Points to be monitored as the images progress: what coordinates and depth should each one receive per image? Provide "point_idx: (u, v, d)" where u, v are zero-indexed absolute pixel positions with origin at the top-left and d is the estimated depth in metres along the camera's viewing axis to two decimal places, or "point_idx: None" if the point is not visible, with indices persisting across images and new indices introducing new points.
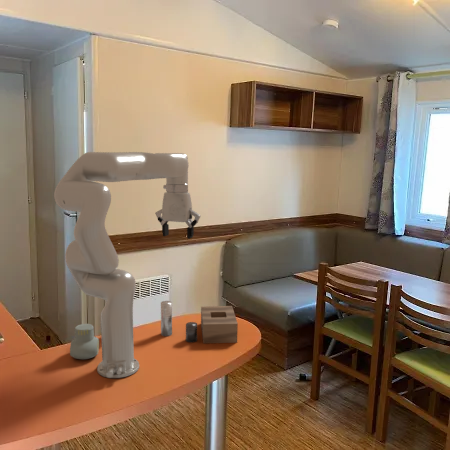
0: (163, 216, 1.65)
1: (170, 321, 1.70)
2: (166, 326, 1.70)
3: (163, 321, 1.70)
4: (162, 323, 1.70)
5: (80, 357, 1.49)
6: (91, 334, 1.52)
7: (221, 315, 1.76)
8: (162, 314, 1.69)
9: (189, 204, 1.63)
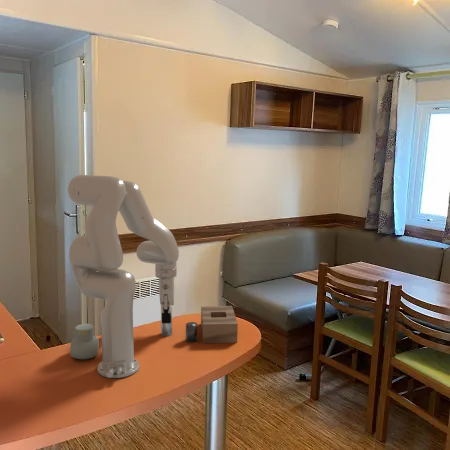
0: (173, 301, 1.66)
1: None
2: (166, 326, 1.70)
3: None
4: (162, 323, 1.70)
5: (80, 357, 1.49)
6: (91, 334, 1.52)
7: (221, 315, 1.76)
8: None
9: None
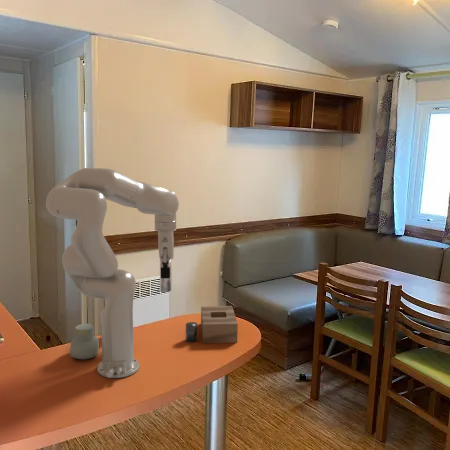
0: (173, 255, 1.63)
1: None
2: (165, 282, 1.67)
3: None
4: (161, 278, 1.67)
5: (80, 357, 1.49)
6: (91, 334, 1.52)
7: (221, 315, 1.76)
8: None
9: None
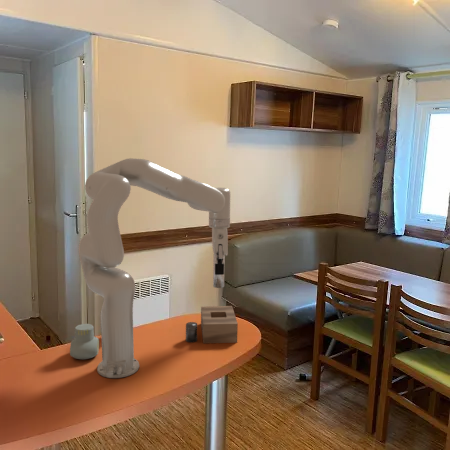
0: (227, 251, 1.65)
1: None
2: (219, 278, 1.68)
3: None
4: (215, 275, 1.69)
5: (80, 357, 1.49)
6: (91, 334, 1.52)
7: (221, 315, 1.76)
8: None
9: None
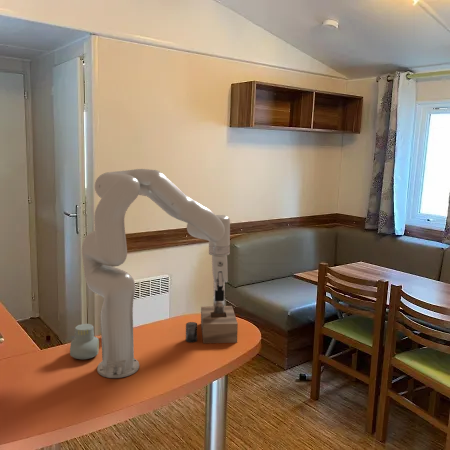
0: (227, 278, 1.67)
1: None
2: (219, 304, 1.70)
3: None
4: (215, 301, 1.71)
5: (80, 357, 1.49)
6: (91, 334, 1.52)
7: (221, 315, 1.76)
8: None
9: None
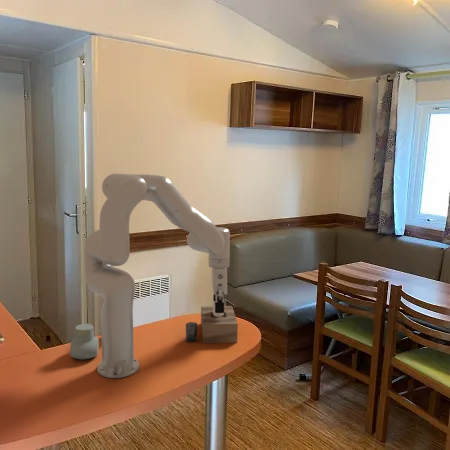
0: None
1: None
2: None
3: None
4: None
5: (80, 357, 1.49)
6: (91, 334, 1.52)
7: None
8: (215, 313, 1.71)
9: None
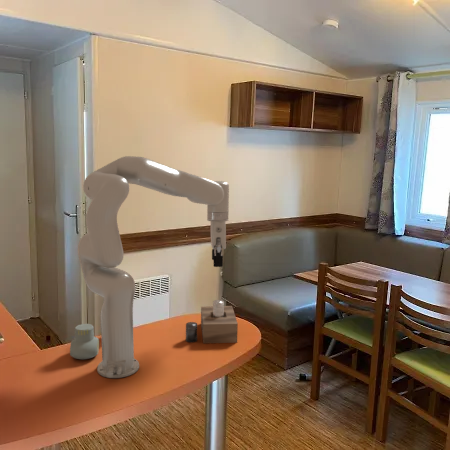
0: (225, 245, 1.65)
1: None
2: None
3: None
4: None
5: (80, 357, 1.49)
6: (91, 334, 1.52)
7: None
8: (215, 313, 1.71)
9: None
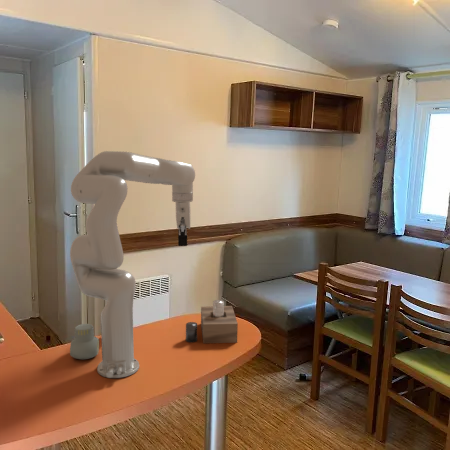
0: None
1: None
2: None
3: None
4: None
5: (80, 357, 1.49)
6: (91, 334, 1.52)
7: None
8: (215, 313, 1.71)
9: None
